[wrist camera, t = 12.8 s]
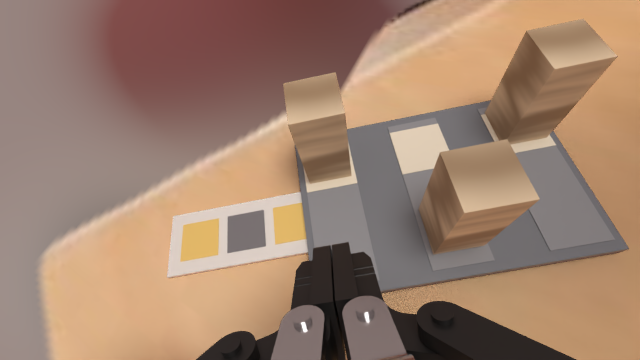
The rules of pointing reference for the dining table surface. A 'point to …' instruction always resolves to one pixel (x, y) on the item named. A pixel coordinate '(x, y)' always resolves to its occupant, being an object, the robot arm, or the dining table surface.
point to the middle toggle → (474, 196)
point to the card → (237, 235)
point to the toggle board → (408, 190)
